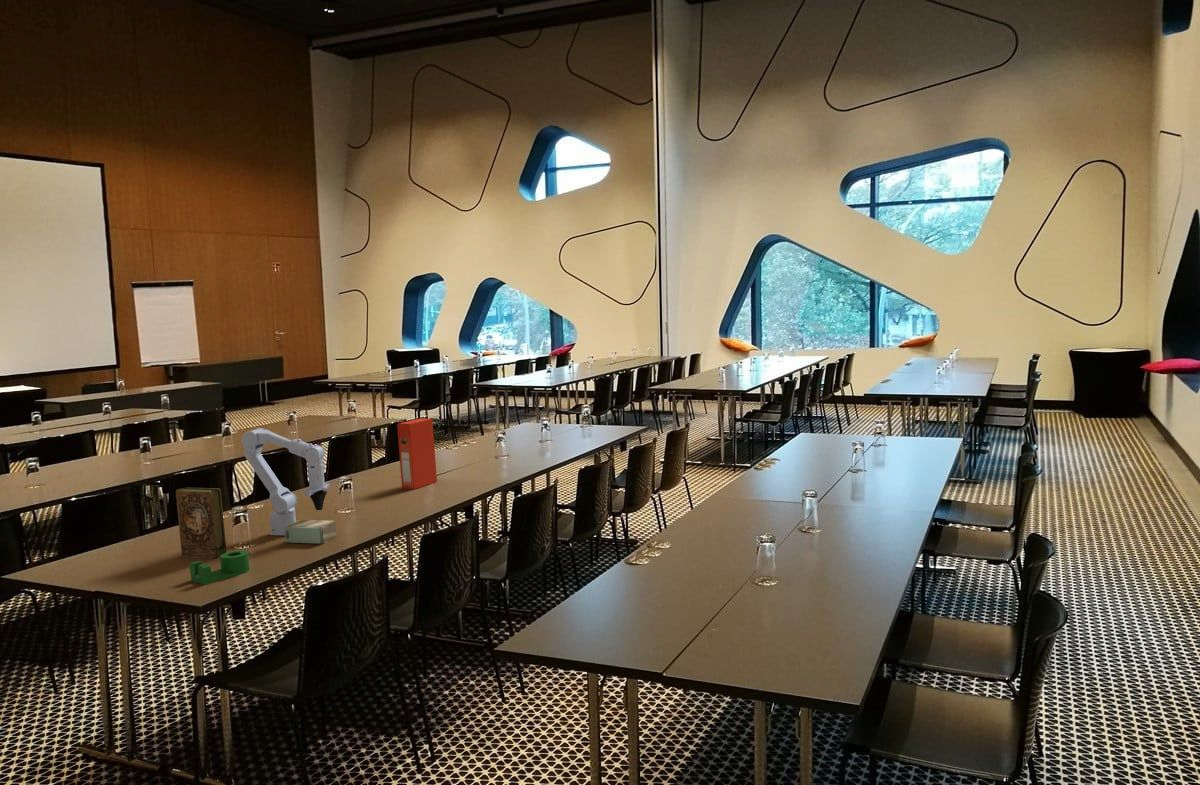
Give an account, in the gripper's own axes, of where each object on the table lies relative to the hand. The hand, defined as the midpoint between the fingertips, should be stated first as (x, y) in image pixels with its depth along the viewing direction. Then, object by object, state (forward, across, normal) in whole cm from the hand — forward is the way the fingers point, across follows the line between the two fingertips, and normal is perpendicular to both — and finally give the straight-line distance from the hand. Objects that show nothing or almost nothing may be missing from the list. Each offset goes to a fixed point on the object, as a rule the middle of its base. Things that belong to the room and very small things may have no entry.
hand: (319, 509), depth 352 cm
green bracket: (+10, -54, +4) cm, 55 cm away
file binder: (+10, +86, -1) cm, 87 cm away
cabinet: (+9, -10, -2) cm, 14 cm away
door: (+9, -15, -2) cm, 18 cm away
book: (+10, -34, +28) cm, 45 cm away
